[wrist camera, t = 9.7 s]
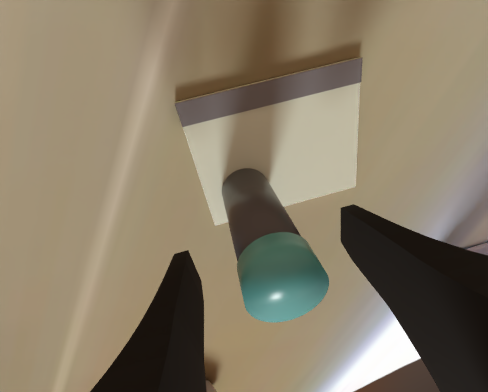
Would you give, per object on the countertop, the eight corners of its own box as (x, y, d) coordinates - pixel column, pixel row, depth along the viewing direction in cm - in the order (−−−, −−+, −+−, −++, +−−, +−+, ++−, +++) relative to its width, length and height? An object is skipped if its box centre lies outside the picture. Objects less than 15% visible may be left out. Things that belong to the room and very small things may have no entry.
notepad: (357, 57, 14) (362, 57, 13) (352, 184, 18) (356, 187, 18) (175, 102, 13) (174, 103, 13) (214, 222, 17) (215, 226, 17)
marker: (265, 160, 15) (327, 250, 9) (273, 203, 17) (329, 307, 10) (214, 174, 15) (235, 277, 8) (226, 216, 17) (252, 331, 10)
